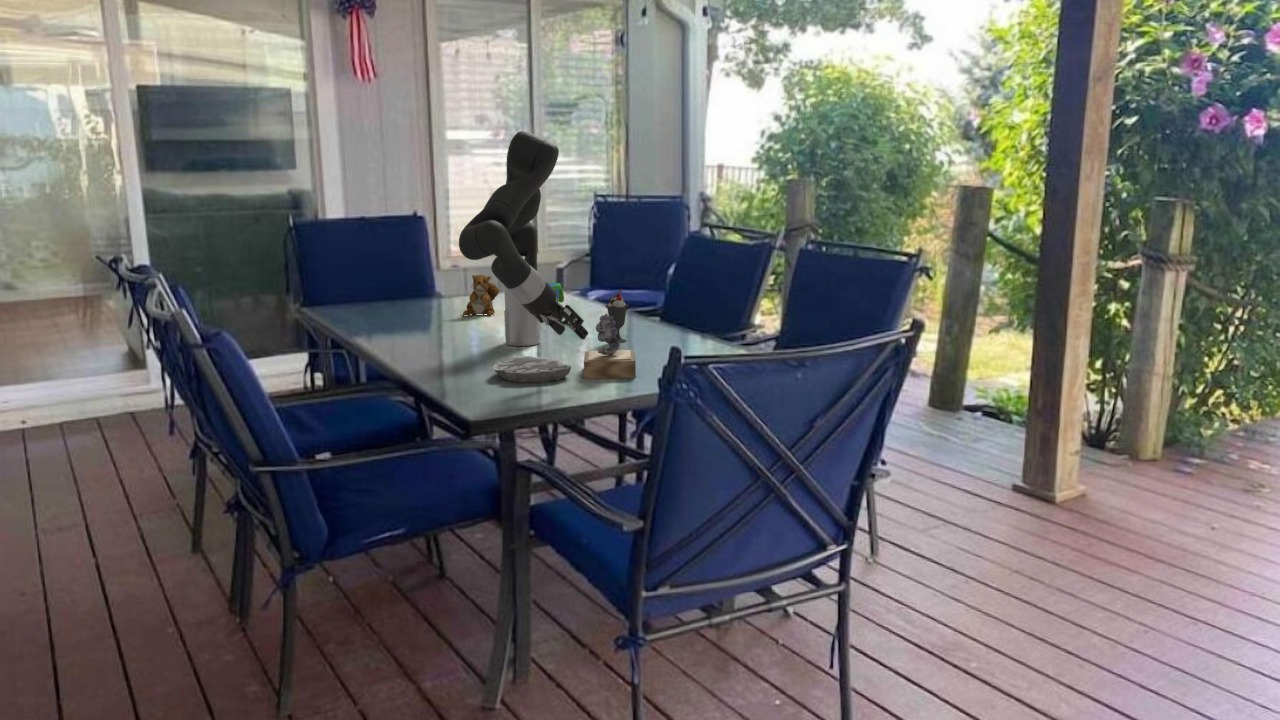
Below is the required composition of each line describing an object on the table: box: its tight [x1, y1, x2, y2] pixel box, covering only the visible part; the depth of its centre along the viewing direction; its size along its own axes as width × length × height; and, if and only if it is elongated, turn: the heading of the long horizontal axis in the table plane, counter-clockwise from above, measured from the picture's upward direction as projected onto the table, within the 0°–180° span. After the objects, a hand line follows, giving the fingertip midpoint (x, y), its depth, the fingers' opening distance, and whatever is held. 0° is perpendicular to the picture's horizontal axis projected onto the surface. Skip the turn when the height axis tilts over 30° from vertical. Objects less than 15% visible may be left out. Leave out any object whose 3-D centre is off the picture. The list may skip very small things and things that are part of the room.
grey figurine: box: [595, 312, 621, 355], centre depth 229 cm, size 5×5×10 cm
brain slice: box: [491, 355, 572, 384], centre depth 228 cm, size 20×17×3 cm
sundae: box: [604, 288, 630, 344], centre depth 267 cm, size 7×7×15 cm
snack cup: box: [539, 281, 565, 317], centre depth 312 cm, size 16×10×10 cm
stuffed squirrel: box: [462, 274, 500, 316], centre depth 317 cm, size 10×14×13 cm
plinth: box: [583, 349, 637, 380], centre depth 231 cm, size 12×12×4 cm
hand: (573, 334), depth 222 cm, fingers open, 8 cm apart
